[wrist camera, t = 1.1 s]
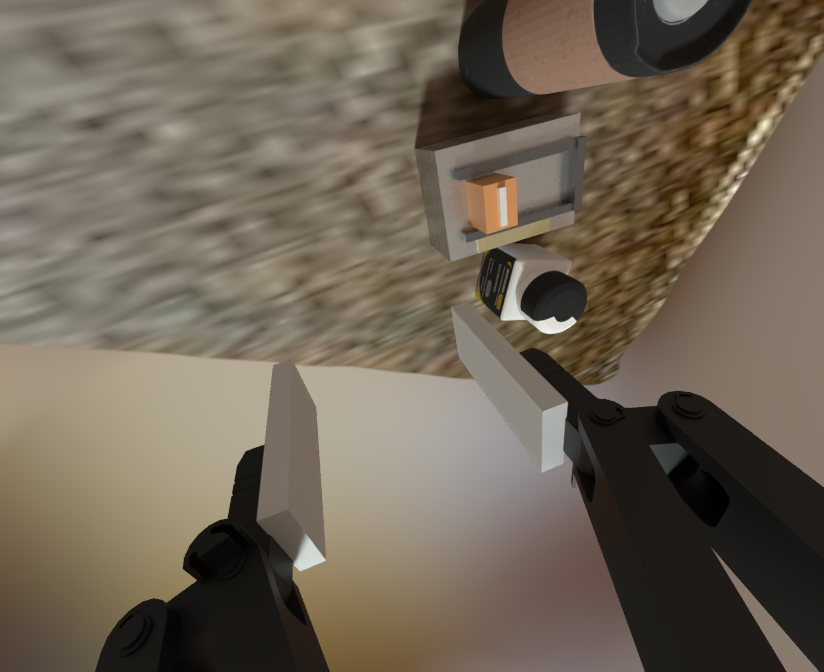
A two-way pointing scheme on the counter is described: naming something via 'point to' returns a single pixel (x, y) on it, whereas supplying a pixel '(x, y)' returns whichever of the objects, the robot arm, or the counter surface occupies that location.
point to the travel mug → (587, 42)
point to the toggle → (492, 202)
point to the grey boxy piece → (510, 155)
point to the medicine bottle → (531, 287)
